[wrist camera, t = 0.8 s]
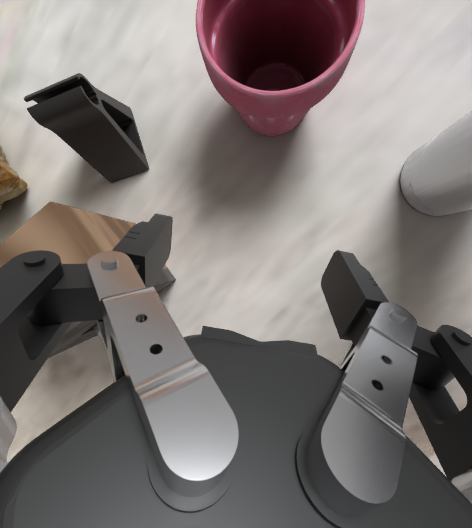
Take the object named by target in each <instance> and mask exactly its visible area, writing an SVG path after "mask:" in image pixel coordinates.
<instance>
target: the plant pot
mask: <svg viewBox="0 0 472 528" xmlns="http://www.w3.org/2000/svg"><path fill="white" fill-rule="evenodd" d="M364 11H365V0H198V3H197V10H196V31H197V37H198V42H199V46H200V50H201V53H202V57H203V60H204V63H205V66H206V69H207V72H208V74H209V77H210V79H211V81H212V83H213V85H214V87H215V88H216V90H217V91H218V93H219V94H220V95H221V96H222V97H223V98H224V100H226V101H227V102H228V103H229V104H230V105H231V106H233V107H234V108H236V110H237V111H238V113H239V114H240V115H241V117H242V119H243V120H244V122H245V123H246V124H247V126H248V127H249V128H251V129H252V130H253V131H255V132H256V133H259V134H261V135H266V136H277V135H281V134H284V133H287V132H289V131H290V130H292V129H293V128H295V127H296V126H297V125H298V124H299V123H300V122H301V120H302V119H303V117H304V116H305V115H306V113H307V112H308V111H309V110H310V108H311V107H313V106H314V105H316V104H317V103H318V102H320V101H321V100H322V99H323V98H325V97H326V96H327V95H328V94H329V93H330V92H331V91H332V89H333V88H334V87H335V86H336V84H337V83H338V81H339V80H340V78H341V77H342V75H343V73H344V71H345V69H346V67H347V65H348V62H349V60H350V58H351V55H352V53H353V50H354V48H355V45H356V43H357V40H358V37H359V34H360V31H361V28H362V24H363V19H364Z"/></svg>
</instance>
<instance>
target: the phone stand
mask: <svg viewBox="0 0 472 528" xmlns="http://www.w3.org/2000/svg"><path fill="white" fill-rule="evenodd" d="M24 100H25V101H26V102H28V101H31V100H34V101H35V102H37V103H38V104H36V105H34V106H32V107H29V108H27V110H28V112H29V113H30V115H31V116H32V117H33V118H34V119H35V120H36V121H37V122H38V123H39V124H40V125H41V126H43V127H45V128H48V129H49V130H51V131H53V132H54V133H55V134H57V135H58V136H59V137H60V138H61V139H62V140H64V141H65V142H66V143H67V144H68V145H69V146H70V147H71V148H72V149H74V150H75V151H76V152H77V153H78V154H79V155H80V156H81V157H83V158H84V159H85V160H86V161H87V162H88V163H89V164H90V165H91V166H93V167H94V168H95V169H96V170H97V171H98V172H99V173H100V174H102V175H103V176H104V177H105V178H106V179H107V180H108V181H109V182H114V181H117V180H120V179H122V178H125V177H128V176H130V175H133V174H136V173H138V172H141V171H144V170H147V169H149V166H148V163H147V159H146V156H145V153H144V150H143V146H142V143H141V140H140V137H139V133H138V130H137V127H136V123H135V120H134V117H133V114H132V111H131V109H130V107H128V106H126V105H124V104H123V103H121V102H119V101H117V100H115V99H114V98H112V97H110V96H108V95H107V94H105V93H103V92H101V91H100V90H98V89H96V88H95V87H94V86H93V85H92V84H91V83H90V82H89V81H88V80H87V79H86V78H85V77H84V76H83V75H82V74H80V73H78V74H76V75H74V76H71V77H69V78H67V79H64V80H62V81H60V82H57V83H55V84H53V85H51V86H48V87H46V88H44V89H41V90H39V91H37V92H34V93H32V94H30V95H28V96H25V98H24Z"/></svg>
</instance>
